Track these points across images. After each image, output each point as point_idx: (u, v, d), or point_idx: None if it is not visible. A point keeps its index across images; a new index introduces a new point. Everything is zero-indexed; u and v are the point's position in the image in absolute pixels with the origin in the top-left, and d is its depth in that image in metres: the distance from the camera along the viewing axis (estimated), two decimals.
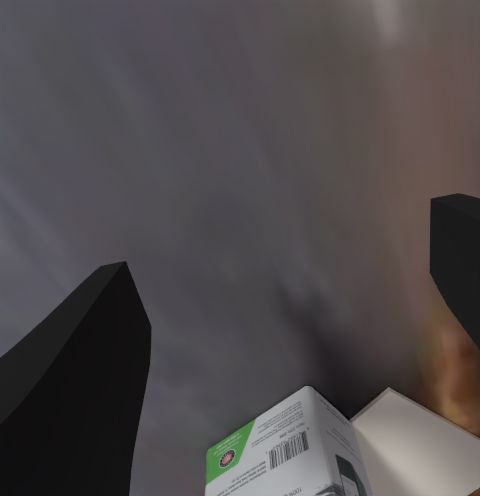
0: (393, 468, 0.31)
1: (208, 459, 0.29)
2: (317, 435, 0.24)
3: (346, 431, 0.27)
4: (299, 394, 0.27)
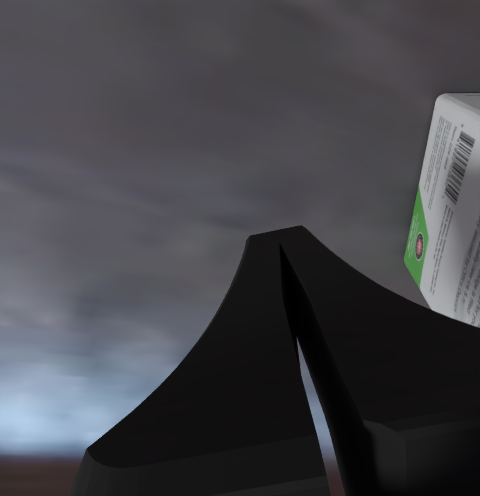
0: None
1: (408, 267, 0.23)
2: (474, 118, 0.16)
3: None
4: (436, 112, 0.19)
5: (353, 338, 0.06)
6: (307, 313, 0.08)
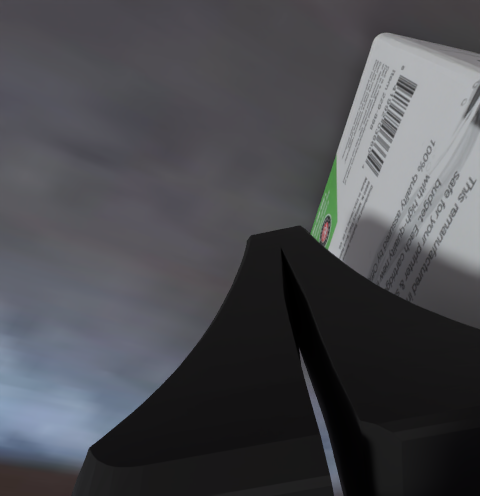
0: None
1: None
2: (420, 55, 0.11)
3: None
4: (371, 56, 0.14)
5: (350, 338, 0.06)
6: (305, 313, 0.08)
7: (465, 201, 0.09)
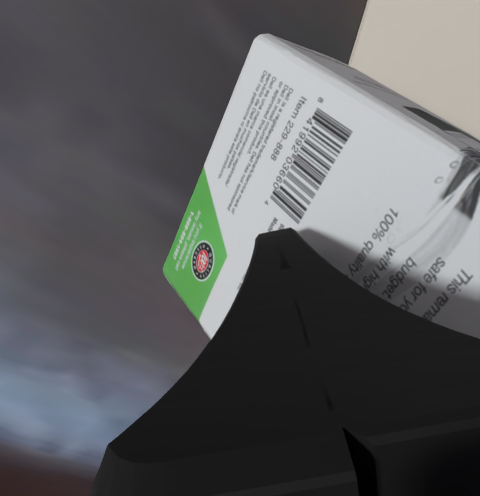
0: None
1: (173, 282, 0.15)
2: (350, 95, 0.10)
3: (364, 76, 0.13)
4: (254, 62, 0.12)
5: (333, 342, 0.06)
6: None
7: (458, 293, 0.08)
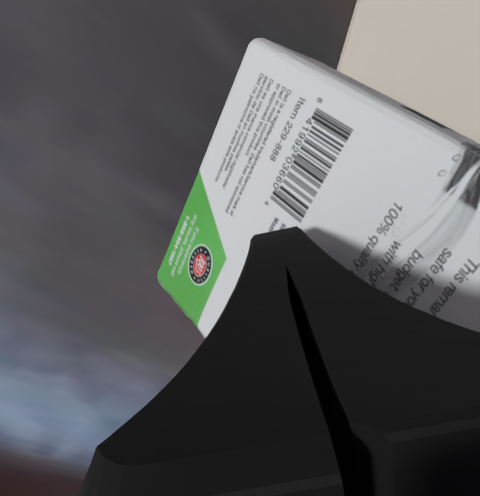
0: None
1: (169, 288, 0.15)
2: (349, 94, 0.10)
3: None
4: (250, 65, 0.12)
5: (345, 340, 0.06)
6: (301, 314, 0.08)
7: (465, 282, 0.09)
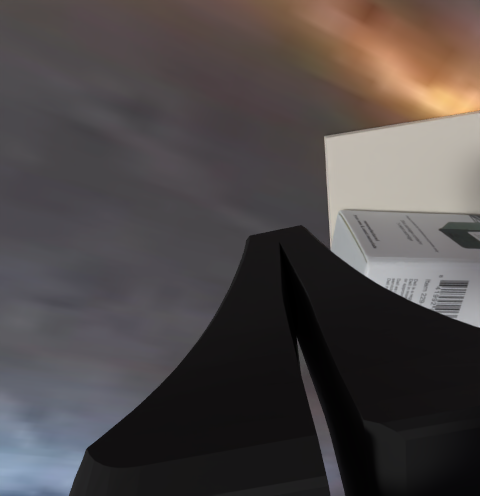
0: None
1: None
2: (458, 266, 0.18)
3: (377, 222, 0.20)
4: (375, 277, 0.18)
5: (353, 338, 0.06)
6: (307, 313, 0.08)
7: None
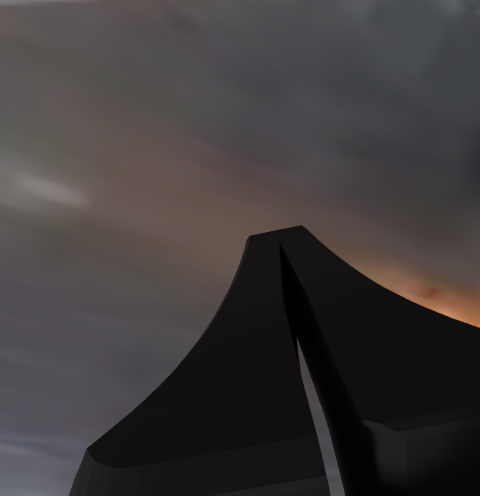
0: None
1: None
2: None
3: None
4: None
5: (353, 338, 0.06)
6: (307, 313, 0.08)
7: None
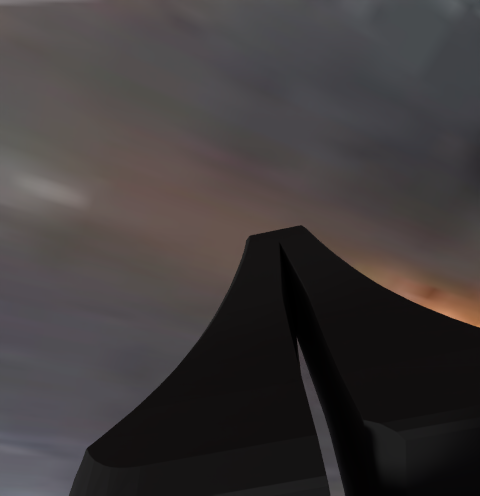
0: None
1: None
2: None
3: None
4: None
5: (353, 338, 0.06)
6: (307, 313, 0.08)
7: None
